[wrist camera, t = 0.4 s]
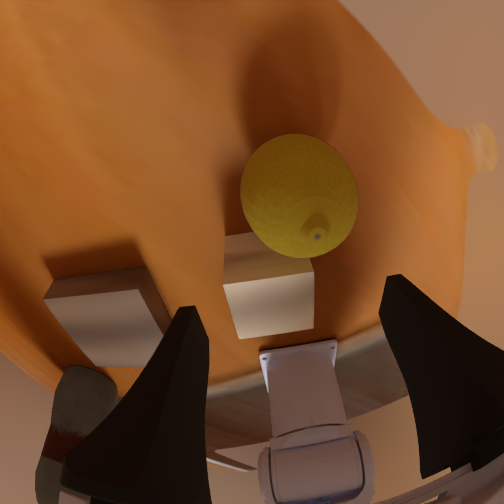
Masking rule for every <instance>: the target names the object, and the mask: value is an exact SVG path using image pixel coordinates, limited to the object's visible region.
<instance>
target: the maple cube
mask: <svg viewBox="0 0 504 504" xmlns="http://www.w3.org/2000/svg"><path fill="white" fill-rule="evenodd" d="M223 286H224V290H225V293H226V297H227V300H228V304H229V307H230V311H231V314H232V317H233V321H234V324H235V327H236V331H237V334H238V337H239V339H244V338H253V337H260V336H268V335H275V334H282V333H289V332H295V331H302V330H308V329H314V270H313V267H312V264H311V261H310V258H293V257H290V256H286V255H283V254H280V253H278V252H276V251H274V250H273V249H271V248H269V247H268V246H267V245H265V244H264V243H263V242H262V241H261V240H260V239H259V238H258V237H257V235H256V234H255V233H254V232H249V233H243V234H236V235H230V236H225V252H224V273H223Z"/></svg>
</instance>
